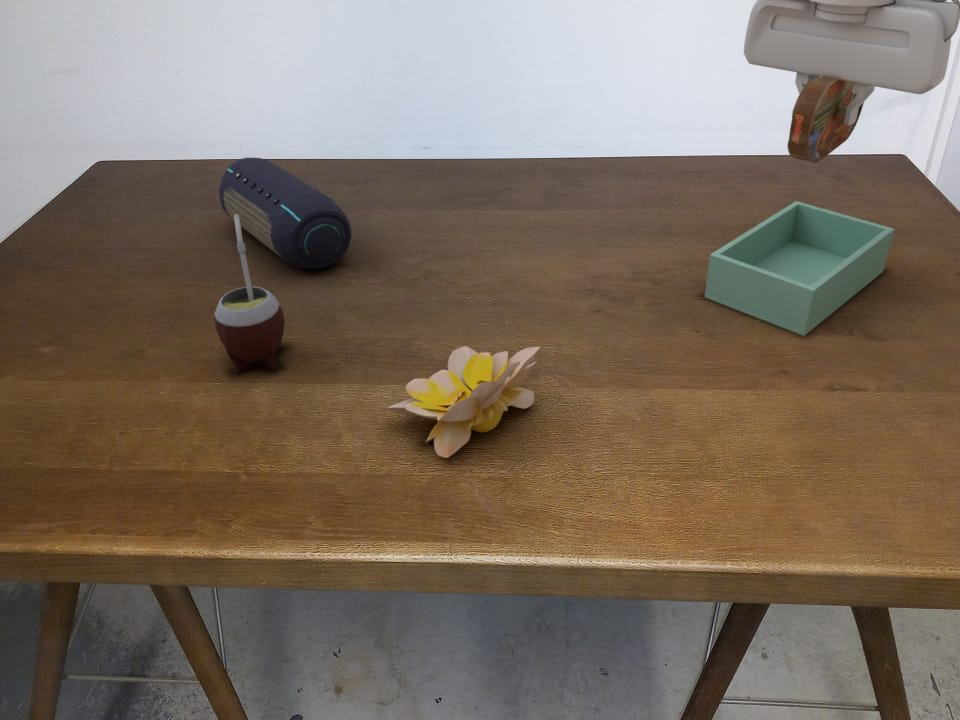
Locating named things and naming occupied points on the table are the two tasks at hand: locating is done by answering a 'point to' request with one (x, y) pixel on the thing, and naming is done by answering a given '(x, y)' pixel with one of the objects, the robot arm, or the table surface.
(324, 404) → the table surface
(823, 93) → the tin
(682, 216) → the table surface
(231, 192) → the portable speaker
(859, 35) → the robot arm
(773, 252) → the bin
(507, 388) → the decorative flower
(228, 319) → the mate gourd
